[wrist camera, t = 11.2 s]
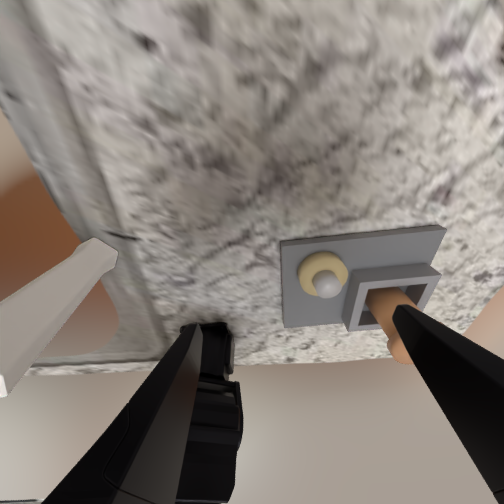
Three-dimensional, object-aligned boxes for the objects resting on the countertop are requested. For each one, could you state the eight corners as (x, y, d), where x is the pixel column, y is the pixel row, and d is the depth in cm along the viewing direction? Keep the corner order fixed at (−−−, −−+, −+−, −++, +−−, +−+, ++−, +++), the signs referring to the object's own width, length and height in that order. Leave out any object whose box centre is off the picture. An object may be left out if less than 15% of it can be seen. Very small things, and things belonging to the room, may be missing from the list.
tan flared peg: (353, 310, 25) (387, 366, 19) (361, 278, 22) (402, 333, 17) (395, 305, 25) (442, 361, 19) (408, 273, 22) (467, 327, 16)
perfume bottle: (118, 237, 20) (-95, 431, 8) (125, 271, 22) (-29, 462, 10) (68, 230, 20) (-253, 427, 7) (80, 266, 22) (-144, 461, 9)
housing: (283, 322, 28) (288, 349, 24) (280, 241, 21) (286, 264, 17) (400, 311, 27) (422, 338, 24) (438, 224, 20) (477, 245, 17)
